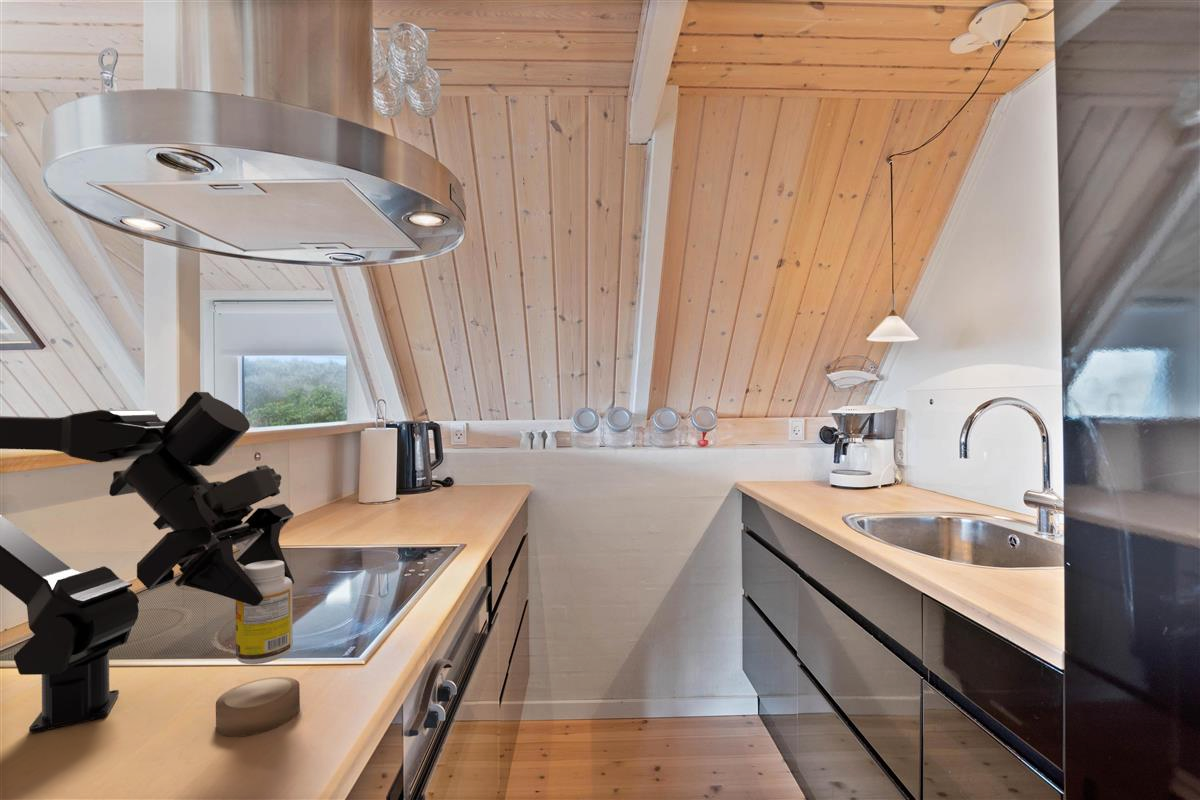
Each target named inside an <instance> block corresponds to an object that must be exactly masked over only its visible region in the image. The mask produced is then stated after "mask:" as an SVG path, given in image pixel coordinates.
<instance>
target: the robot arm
mask: <svg viewBox="0 0 1200 800" xmlns="http://www.w3.org/2000/svg"><path fill="white" fill-rule="evenodd" d="M250 426H251V425H250V422H249V420H248V419H247V417H246V416H245V414H244V413H243V412H241V410H240V409H236V408H234V407H233V406H231V405H230V404H228V403H227V402H224V401H223V400H220V399H217V398H215V397H214V396H213V395H211V393H210V392H208V391H193V393H191V394H190V395H189V397H187V399H186V401H185V402H184V404H183V405H182V406H181V407H180V408H179V410H177V411H176V412H175V413H174V414H173V415H172V416H171V417H170V418H169V419H168V421H167V420H161V418H159V416H158V414H157V413H155V412H154V411H152V410H148V409H96V410H90V411H85V412H84V411H83V412H79V413H72V414H69V415H66V416H62V417H51V416H50V417H49V416H46V417H45V416H43V417H42V416H13V415H12V416H3V415H1V416H0V450H32V451H33V450H34V451H40V450H41V451H54V452H55V451H56V452H59V453H64V454H65V455H67V456H69V457H71V458H75V459H81V460H85V461H89V462H90V461H91V462H95V463H109V462H117V461H126V460H134V461H133V462H132V463H131V464H130V465H129V466H128V467H127V468H126V469H124V470H115V471H113V473H112V476H113V478H112V482H111V483H110V485H109V495H110V496H111V497H116V496H122V495H128V494H129V495H130V494H134V493H136V494H137V495H138V496H140V498H141V499H142V500H143V501H144V502H145V503H146V504H147V505H148V506H149V507H150V508H151V510H153V512H154V513H155V514H156V515H157V516H158V518H157V519H156V520H155V521H154V522H153V523H152V524H153V525H154V526H155V528H156V529H157V530H159V531H161V530H164V529H165V530H166V529H168V528H169V529H171V530H172V531H169V532H167V533H166V534H165V535H164V536H163V537H162V538H161V539H160V540H159V541H158V542H157V543H156V544H155V545H154V546H153V547H152V548H151V549H150V550H149V551H147V553H146V554H145V555H144V556H143V557H142V558H141V559H140V560H139V561H138V562H137V564H136V578H137V579H138V580H139V581H140V582H141V584H143V585H144V586H145V588H146V589H147V590H148V591H152V590H155V589H157V588H160V587H162V586H165V585H168V584H171V582H172V581H173V580H174V577H175V571H174V569H173V568H175V567H176V565H178V566H179V571H180V572H181V573H182V575H181V576H179V577H178V578H177V580H176V581H175V582H174V584H175V586H177V587H179V588H180V587H183V586H186V587H188V588H193V589H197V590H201V591H205V592H208V593H213V594H215V595H218V596H222V597H226V598H229V599H232V600H235V601H236V600H237V601H241V602H244V603H247V604H250V605H253V606H257V605H259V604H260V603H261V602H262V600H263V596H262V594H261V593H260V591H259V590H258V588H257V587H256V586H255V584H254V583H253V582H252V581H251V579H250V578H249V577H248V576H247V574H246V573H245V572H244V568H243V567H241V566H240V565H242V566H244V567H245V566H246V565H248V564H251V563H255V562H260V561H267V560H279V561H283V562H284V570H285V572H284V573H285V575H284V576H285V577H288V578H290V579H291V581H292V586H293V585H294V584H295V580H294V577H293V575H292V573H291V570H290V568H289V566H288V564H287V561H286V558H285V556H284V554H283V552H282V549H281V545H280V534H281V530H282V529H284V527H285V526H286V525H287V523H288V522H290V521H291V520H292V518H294V515H295V514H294V512H293V511H292V510H291V509H290V508H289V507H288V506H287V505H286V504H285V503H273V504H269V505H266V506H262V507H261V506H260V507H258V508H257V509H256V510H255V509H254V508H253V507H252V506H253V505H255V504H257V503H259V502H260V501H264V500H265V499H267V498H269V497H271V498H272V497H275V496H278V495H279V494H280V493H281V491H280V489H279V488H280V486H281V484H282V483H281V481H282V475H281V474H280V473H277V472H276V471H275V469H274V468H271V467H270V466H269V465H267V464H264V465H258V466H256V468H255V469H251V470H247V471H246V472H245V473H242V474H240V475H237V476H235V477H233V478H231V479H229V480H227V481H220V480H218V481H213V482H210V481H209V480H207V478H205V477H204V475H203V474H202V473H201V472H200V471H199V470H198V469H197V468H196V467H200V466H204V467H211V466H213V465H215V464H216V463H217V462H218V461H219V460H220V459H221V458H222V457H223V456H224V455H225V454H226V453H227V452H228V451H229V450H230V449H231V448H232V447H233V446H234V445H235V444H236V443H237V442H238V441H239V440H240V439H241V438H242V437H243V436H244V435H245V434H246V433H247V432H248V431H249V429H250ZM254 510H255V511H254ZM253 511H254V512H253ZM252 512H253V513H252ZM251 513H252V514H251ZM250 514H251V515H250ZM249 515H250V516H249ZM248 516H249V517H248ZM245 517H248V518H247V519H246V520H245V521H243V520H244V518H245ZM234 547H235V548H236V549H238V551H240V552H241V555H240V556H239V557H238V558H237V559H235V557H234V549H233V548H234ZM0 585H1V587H3V588H4V589H5V590H7V591H8V592H9V593H11V594H12V595H13V596H15V597H16V598H17V599H18V600H19V601H21V602H23V604H24V605H25V606H26V611H27V612H26V613H27V622H28V628H29V630H30V631H31V632H32V633H33V636H31V638H29V640H27V642H26V643H25V644H24V645H23V646H22V647H21V648H20V649H19V650H18V651H17V652H16V653H15V654H14V655H13V660H14V662H15V666H16V669H17V671H18V674H19V675H21V676H23V675H24V676H25V675H26V676H28V675H29V676H31V675H34V676H35V675H38V676H39V675H41V711H40V713H39V714H38V716H37V717H36V718H35V720H34V721H33V722H32V723H31V725H30V726H28V727H29V728H28V732H29V733H32V734H33V733H36V732H41V731H45V730H52V729H54V728H59V727H64V726H69V725H73V724H77V723H78V724H79V723H82V722H86V721H87V722H88V721H91V720H96V719H101V718H104V717H107V716H108V715H109V713H110V711H111V709H112V707H113V706H114V705H115V702H116V700H117V698H118V696H119V693H120V692H119V691H120V690H119V689H114V690H110V650H112V649H115V648H116V647H119V646H122V645H125V644H126V643H127V642H128V639H129V636H130V634H131V632H132V631H131V630H132V628H133V627H134V626H135V624H136V622H137V620H138V618H139V611H140V610H139V603H140V600H139V598H138V596H137V594H136V593H135V592H134V591H133V590H132V589H130V588H131V587H132V586H133V583H131V582H127V581H125V580H123V579H121V578H120V577H119V576H118V575H117V574H115V571H113V570H112V569H110V568H108V567H107V566H105V565H102V566H99V567H94V568H92V569H89V570H85V571H77V570H75V569H74V568H71V567H70V566H69V565H67V564H66V563H65V562H64V561H62V560H61V559H59V558H58V557H57V556H56V555H54V554H53V553H52V552H50V551H49V550H48V549H46V547H43V546H42V545H41V544H40V543H38V542H37V541H36V540H34V539H33V538H32V537H31V536H29V535H28V534H27V533H25V532H24V531H22V529H20V528H18V527H17V526H16V525H14V523H12V522H11V521H9V520H8V518H6V517H4V516H3V515H1V514H0Z"/></svg>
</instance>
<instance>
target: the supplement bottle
mask: <svg viewBox="0 0 1200 800" xmlns="http://www.w3.org/2000/svg"><path fill="white" fill-rule="evenodd" d="M243 571H244V572H245V573H246V574H247V576H248V577H249V578H250V579H251V581H252V582H253V583H254V584H255V586H256V587H257V588H258V590H259V591H260V593H261V594H262V596H263V600H262V602H261V603H260V604H259V605H257V606H253V605H250V604H247V603H244V602H241V601H237V600H235V657H236V660H237V661H238V662H240V663H241V664H245V665H259V664H261V665H263V664H265V663H270V662H274V661H277V660H279V659H281V658H283V657H285V656H286V655H288V654H289V653H291V650H292V648H293V644H294V643H293V642H294V641H293V634H294V633H293V628H294V627H293V626H294V625H293V585H292V581H291V579H290V578H288V577H285V576H284V575H285V573H284V572H285V570H284V562H283V561H279V560H267V561H260V562H255V563H251V564H248V565H246V566H244V567H243Z"/></svg>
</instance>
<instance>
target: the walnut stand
mask: <svg viewBox="0 0 1200 800" xmlns="http://www.w3.org/2000/svg"><path fill="white" fill-rule="evenodd" d="M300 687H301V686H300V683H299V681H298V680H297V679H296V678H292V677H289V676H286V677H285V676H273V677H266V678H265V677H264V678H260V679H255V680H251V681H248V682H245V683H242V684H240V685H237V686H235V687H232V688H230V689H228V690H227V691H225V692H223V693H222V694H221V695H220V696H219V697H218V698H217V700H216V702H215V729H216V732H217V733H218V734H219V735H222V736H225V737H245V736H247V737H248V736H252V735H257V734H261V733H264V732H268V731H271V730H273V729H275V728H278V727H279V726H282V725H284V724H286V723H287V722H290V721H291V720H292V719H293V718H294V717H296V715H297V714H298V713H299V711H300V708H301V703H300V701H301V700H300V698H301V697H300V695H301V694H300V693H301V692H300Z"/></svg>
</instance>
